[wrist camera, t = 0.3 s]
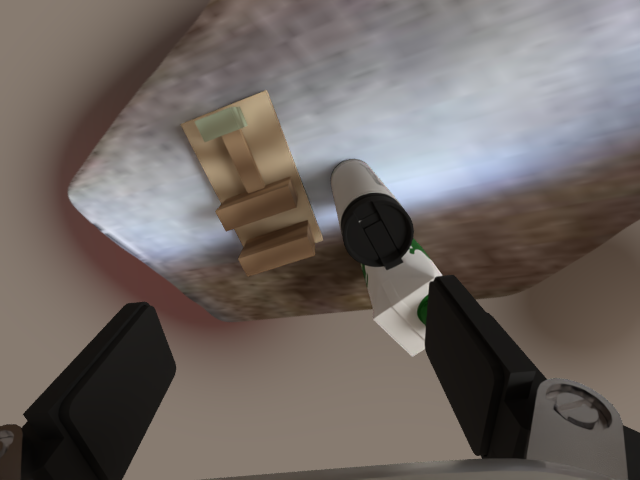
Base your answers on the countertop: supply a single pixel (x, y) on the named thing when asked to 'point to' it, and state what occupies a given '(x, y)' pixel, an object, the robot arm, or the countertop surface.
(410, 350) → the milk carton
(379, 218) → the travel mug
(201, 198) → the countertop surface
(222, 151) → the base
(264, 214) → the sliding jaw
